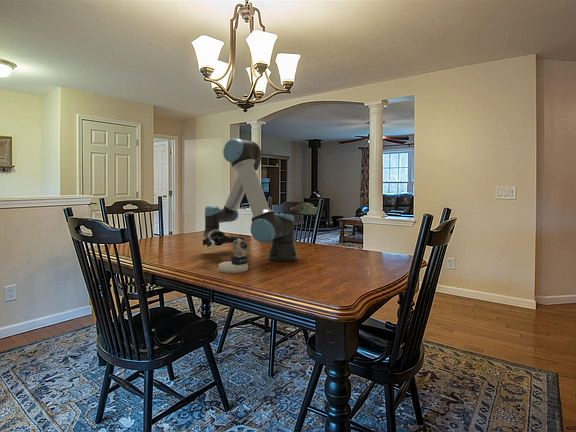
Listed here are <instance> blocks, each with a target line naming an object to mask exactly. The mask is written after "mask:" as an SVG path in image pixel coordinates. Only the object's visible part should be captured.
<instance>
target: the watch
mask: <svg viewBox="0 0 576 432" xmlns="http://www.w3.org/2000/svg"><path fill="white" fill-rule="evenodd" d="M237 242H238V244H237ZM231 244H232V246H231V248H232V253H233V255H234V256H231V261H232V264H234V265H242V264H247V263H248V256H246V255H247V253H248V249H249V244H248V242H247V241H245V239H244V240H242V239H238V240H235V241H234V242H233V243H231ZM238 249H239V250H238ZM239 251H240V253H241V255H240V254H239Z"/></svg>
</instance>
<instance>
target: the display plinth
mask: <svg viewBox="0 0 576 432" xmlns="http://www.w3.org/2000/svg"><path fill="white" fill-rule="evenodd" d="M248 270H249V263H248V262H247V264H242V265H234V264H232V260H230V261H229V260H228V261H222V262H220V263H218V272H220V273H223V274H224V273H225V274H240V273H245V272H247V271H248Z"/></svg>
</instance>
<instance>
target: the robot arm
mask: <svg viewBox="0 0 576 432" xmlns="http://www.w3.org/2000/svg"><path fill="white" fill-rule="evenodd" d="M222 152H223V153H222V154H223V158H224V159H225V160H226V161H227V163H228V162H229V163H230V164H231V167H232V169H233V170H234V171H237V173H238V174H237V176H236V178H235V181H234V184H233V185H232V188H231V189H230V192H229V195H228V197H227V199H226V202H225V204H224V207H223V208H220V207H219V206H217V205H208V206H207V205H206V207H205V210H204V230H203V233H202V234H203V237H204V239H202V245H203V246H206V247H207V248H208V247H211V248H213V249H215V248H216V246H217V247H218V246H222V245H224V244H230V243H231V244H233V242H234V241H235V240H238V239H242V240H244V241H245V237H241V236H232V235H230V236H229V235H226V234H225V233H224V232H223V231H220V223H231V222H235V221H236V220H238V218H239V211H238V210H239V208H240V206H241V204H242V203H241V202H242V200H243V199H244V197H246V200H247V203H248V204H249V207H250V210H251V212H252V217H251V219H250V220H251V225H250V234H251V236H252V237H253V239H254V240H255V241H257V242H258V243H262V244H264V243H266V244H267V243H271V244H270V248H269V251H268V253H267V259H268V260H270V261H275V262H292V261H296V260H298V253H297V249H296V246H295V225H296V224H295V223H296V222H295V216H294V215H291V214H281V213H275V211H274V210H272V209H271V208H270V207H269V205H268V201H267V199H266V196H265V193H264V190H263V188H262V184H261V183H260V180H259V177H258V174H257V171H258V169H259V167H260V165H261V161H262V155H263V154H262V150H261V147H260V146H259V144H258V143H257V142H255V141H253V140H246V139H241V138H230V139H229V140H227V142H225V145H224V148H223V150H222ZM236 245H238V242H237V243H236Z"/></svg>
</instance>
